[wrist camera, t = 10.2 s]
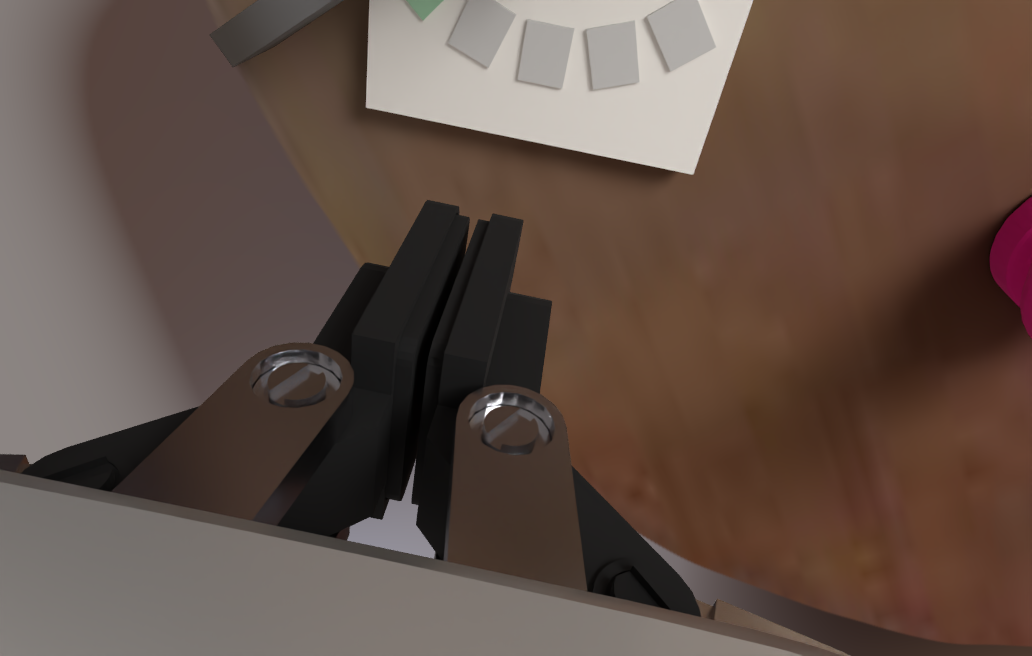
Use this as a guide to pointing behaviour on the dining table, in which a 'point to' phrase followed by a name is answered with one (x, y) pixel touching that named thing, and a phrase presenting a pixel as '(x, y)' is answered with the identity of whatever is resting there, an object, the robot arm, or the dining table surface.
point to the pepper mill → (1015, 260)
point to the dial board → (560, 70)
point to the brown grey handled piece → (266, 26)
